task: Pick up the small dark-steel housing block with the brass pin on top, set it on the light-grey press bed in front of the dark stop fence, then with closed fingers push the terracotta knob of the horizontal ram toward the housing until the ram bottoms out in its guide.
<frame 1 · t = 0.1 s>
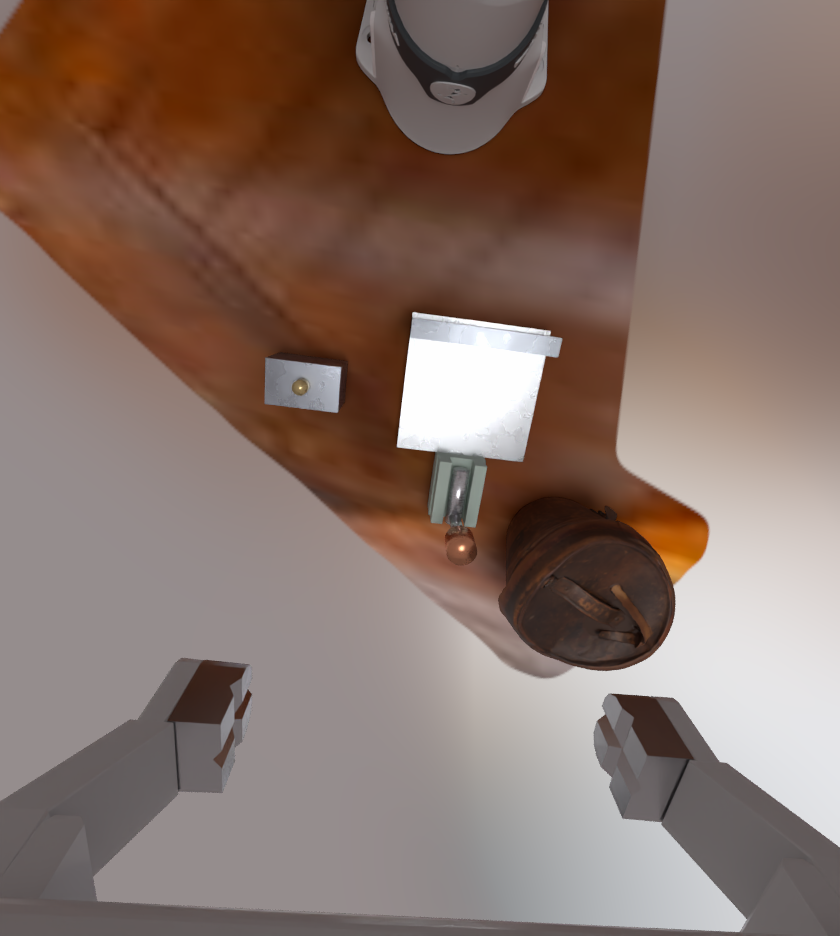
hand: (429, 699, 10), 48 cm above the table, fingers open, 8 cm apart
press bed: (469, 389, 56), on the table
housing: (313, 377, 55), on the table
ram guide: (454, 479, 60), on the table
ram: (460, 512, 52), point 8 cm above the table, slide at 0.0 cm
case: (552, 538, 64), on the table
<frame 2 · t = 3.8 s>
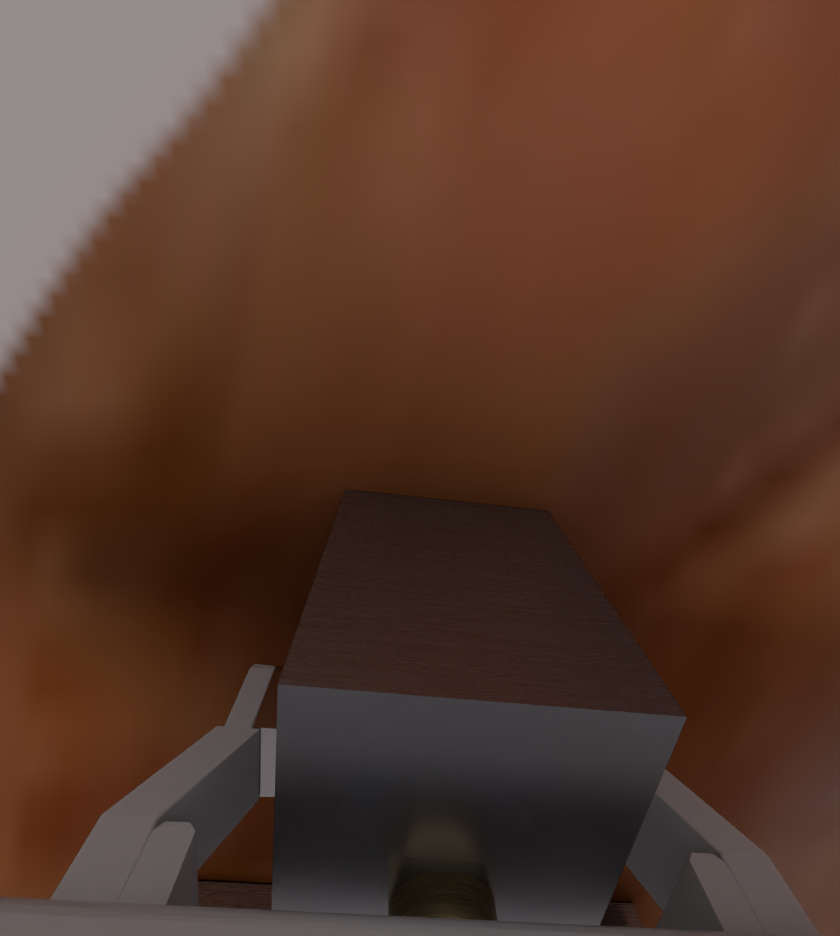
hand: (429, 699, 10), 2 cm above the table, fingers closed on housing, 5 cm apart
housing: (427, 634, 12), on the table, touching gripper
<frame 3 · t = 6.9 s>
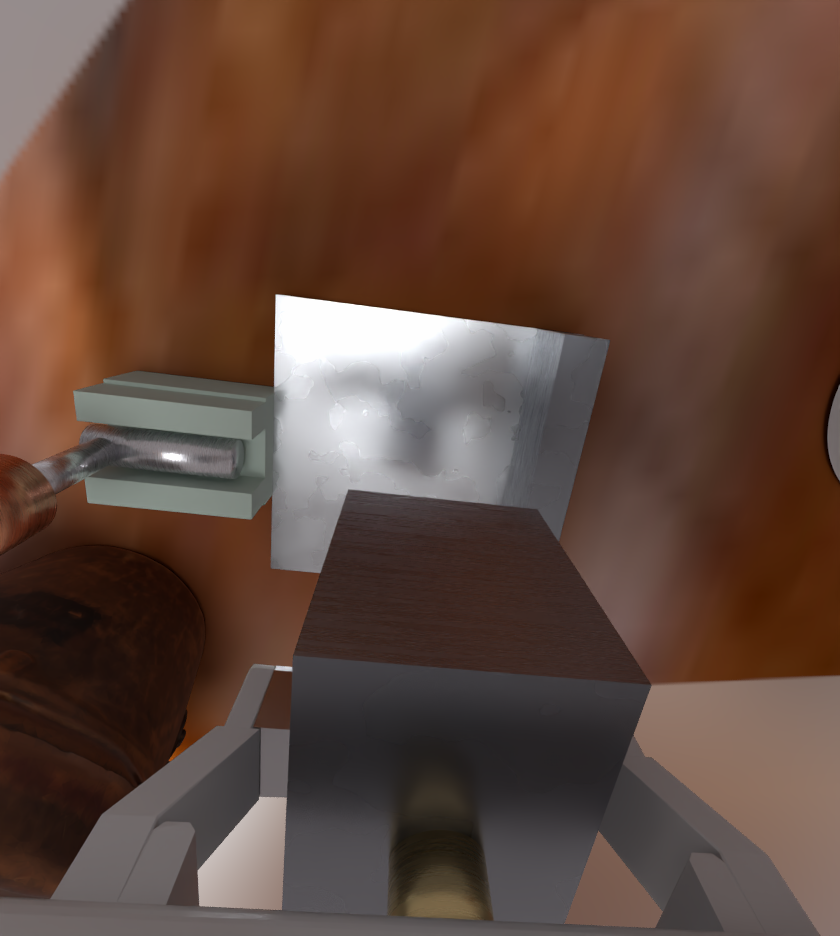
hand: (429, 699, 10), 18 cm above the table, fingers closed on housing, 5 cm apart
press bed: (414, 453, 28), on the table
housing: (424, 625, 13), point 15 cm above the table, touching gripper
ram guide: (211, 430, 27), on the table
ram: (108, 481, 19), point 8 cm above the table, slide at 0.0 cm
case: (115, 626, 32), on the table
when the fingers open (5 cm above the table, at t = 9.3 s): housing stays where it is, resting on press bed.
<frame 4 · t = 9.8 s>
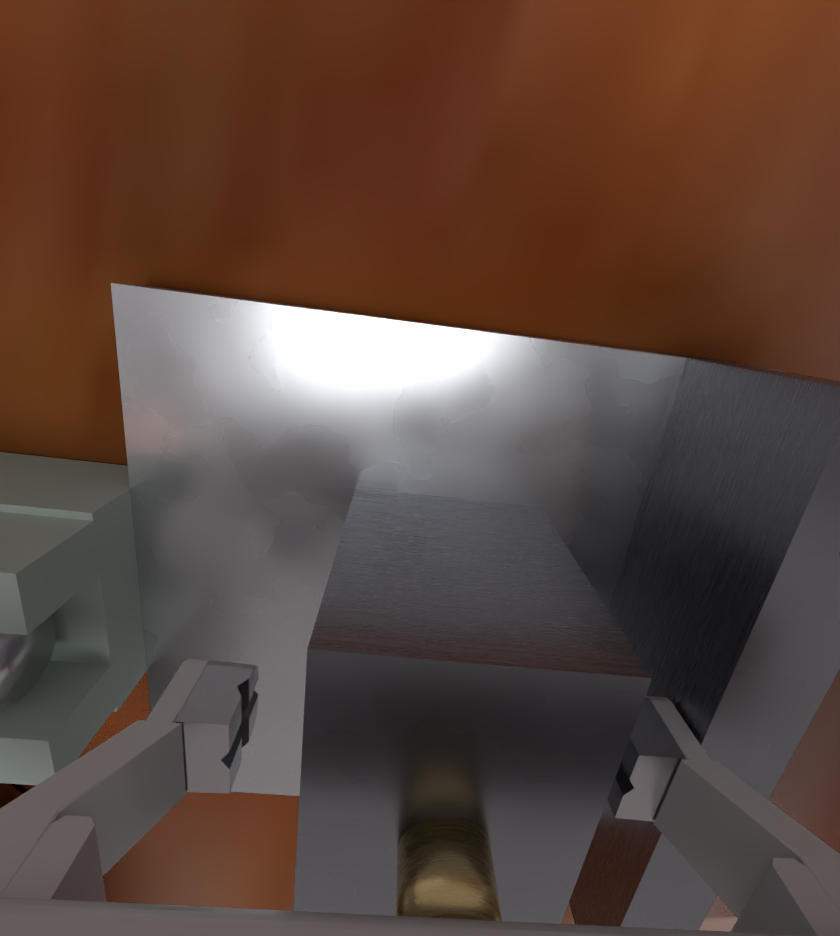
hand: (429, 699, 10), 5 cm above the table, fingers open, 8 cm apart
press bed: (419, 582, 15), on the table
housing: (429, 621, 13), point 1 cm above the table, touching press bed
ram guide: (32, 545, 14), on the table
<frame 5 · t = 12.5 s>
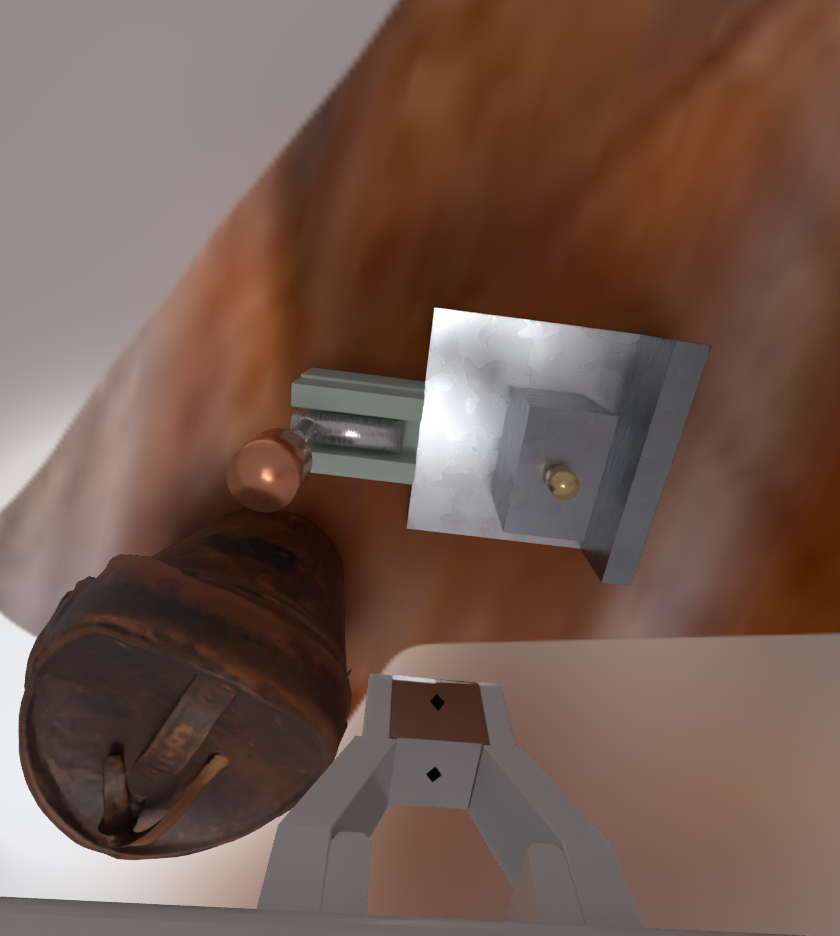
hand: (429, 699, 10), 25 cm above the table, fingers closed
press bed: (527, 435, 34), on the table
housing: (535, 446, 32), point 1 cm above the table, touching press bed
ram guide: (365, 415, 33), on the table
ram: (332, 450, 25), point 8 cm above the table, slide at 0.0 cm
case: (268, 576, 39), on the table
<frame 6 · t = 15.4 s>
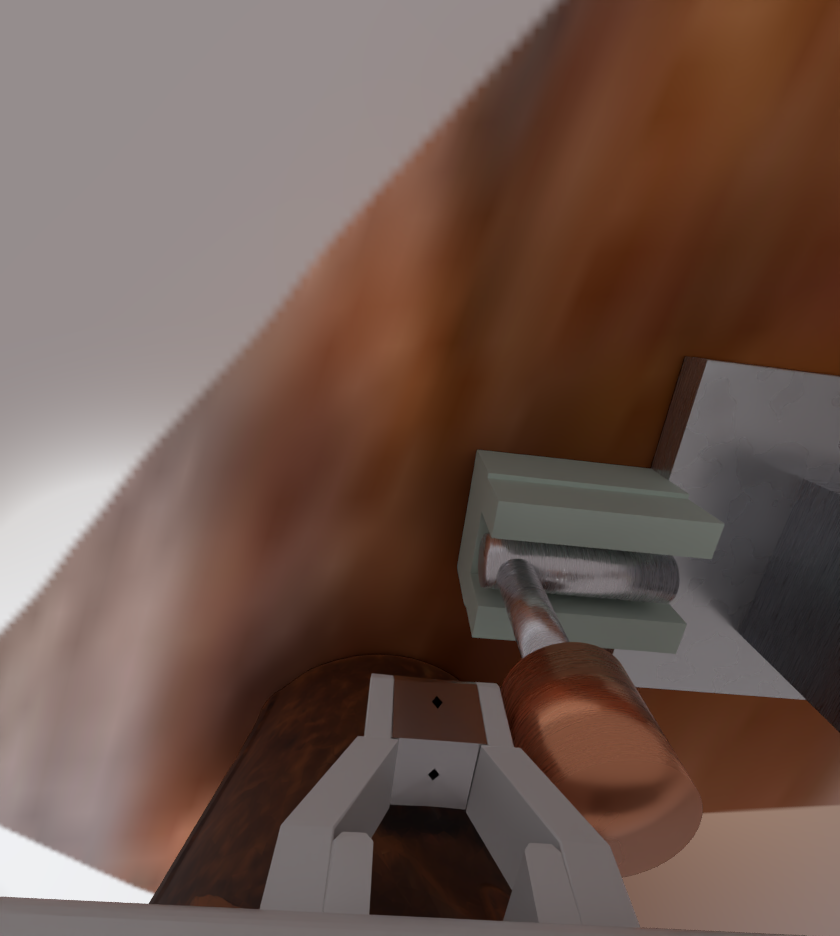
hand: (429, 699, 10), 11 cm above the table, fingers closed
press bed: (790, 543, 22), on the table
housing: (820, 566, 21), point 1 cm above the table, touching press bed
ram guide: (550, 519, 21), on the table
ram: (613, 642, 13), point 8 cm above the table, slide at 0.1 cm, touching gripper
case: (373, 742, 26), on the table
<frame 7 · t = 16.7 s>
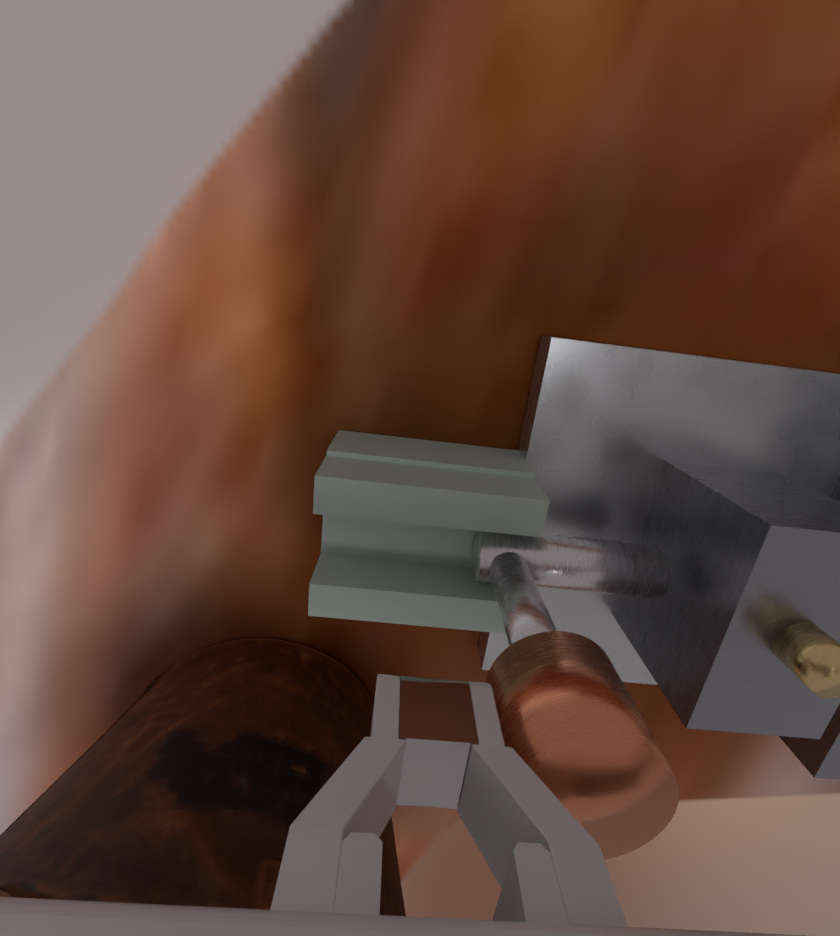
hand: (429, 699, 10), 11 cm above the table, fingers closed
press bed: (669, 528, 22), on the table
housing: (691, 550, 21), point 1 cm above the table, touching press bed
ram guide: (421, 502, 21), on the table
ram: (601, 634, 14), point 8 cm above the table, slide at 6.1 cm, touching gripper
case: (266, 727, 26), on the table
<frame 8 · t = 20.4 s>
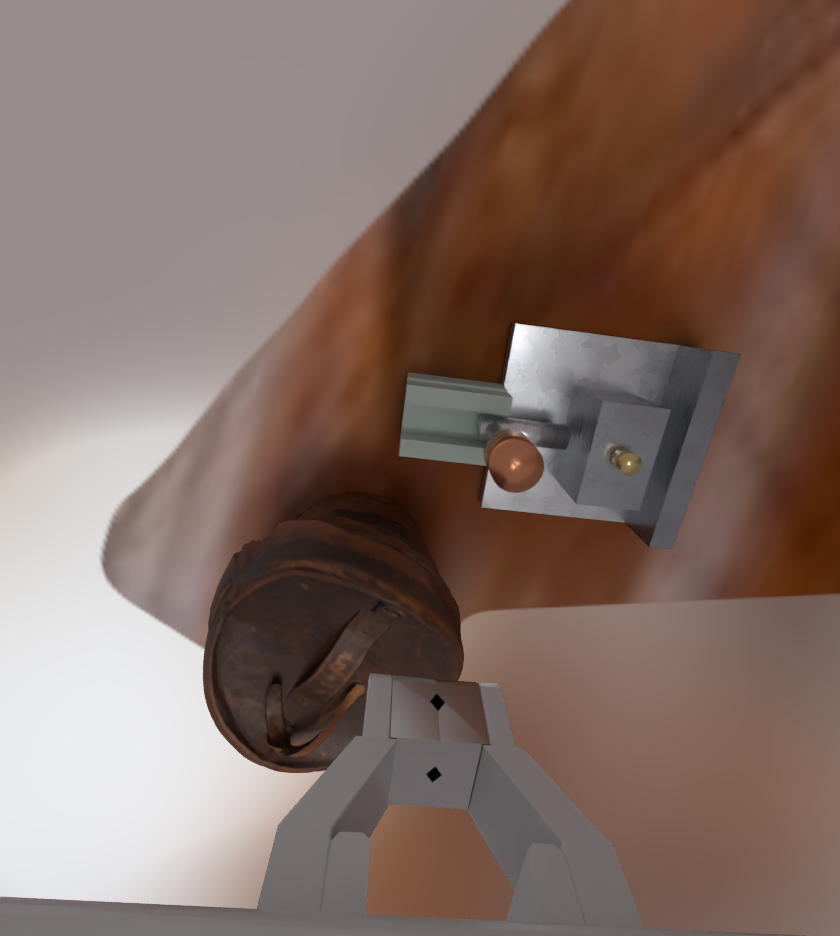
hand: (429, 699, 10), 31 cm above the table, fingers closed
press bed: (582, 428, 41), on the table
housing: (591, 436, 39), point 1 cm above the table, touching press bed
ram guide: (449, 412, 40), on the table
ram: (532, 447, 32), point 8 cm above the table, slide at 6.0 cm
case: (355, 553, 45), on the table
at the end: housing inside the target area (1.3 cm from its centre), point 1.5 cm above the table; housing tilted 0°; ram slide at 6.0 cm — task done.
